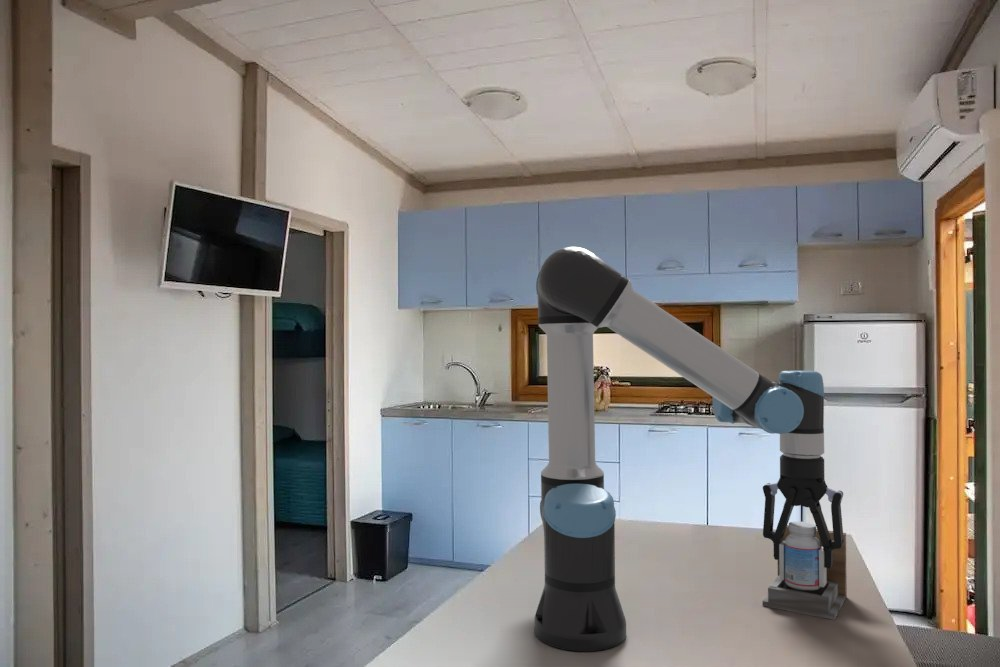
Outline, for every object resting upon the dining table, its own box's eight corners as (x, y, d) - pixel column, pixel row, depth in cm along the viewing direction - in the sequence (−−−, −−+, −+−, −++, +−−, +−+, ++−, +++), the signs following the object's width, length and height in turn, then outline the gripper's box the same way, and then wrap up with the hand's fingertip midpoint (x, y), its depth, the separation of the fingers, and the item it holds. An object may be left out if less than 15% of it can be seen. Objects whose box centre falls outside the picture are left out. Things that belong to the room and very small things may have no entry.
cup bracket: (834, 619, 123) (833, 550, 123) (762, 605, 130) (761, 539, 130) (846, 597, 134) (845, 533, 134) (779, 585, 140) (779, 524, 141)
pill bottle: (824, 592, 127) (824, 529, 127) (788, 590, 128) (788, 527, 128) (816, 581, 133) (816, 521, 133) (782, 579, 134) (781, 519, 134)
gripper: (862, 456, 128) (863, 585, 128) (753, 448, 139) (754, 566, 139) (856, 462, 122) (857, 597, 122) (743, 453, 133) (744, 577, 133)
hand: (802, 581), depth 130 cm, fingers closed on pill bottle, 6 cm apart
